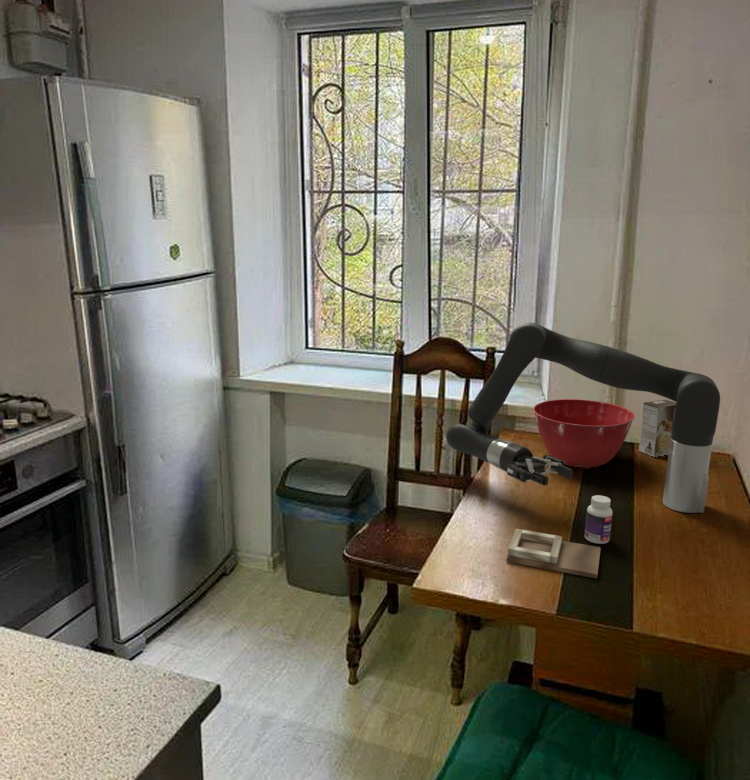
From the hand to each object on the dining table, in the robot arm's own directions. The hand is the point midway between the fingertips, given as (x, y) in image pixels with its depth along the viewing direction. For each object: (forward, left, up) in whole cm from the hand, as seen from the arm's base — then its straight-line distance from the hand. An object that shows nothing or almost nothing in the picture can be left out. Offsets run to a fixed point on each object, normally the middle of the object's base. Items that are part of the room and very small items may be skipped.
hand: (559, 477), depth 155 cm
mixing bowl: (-2, -45, -11) cm, 46 cm away
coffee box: (-24, -61, -11) cm, 66 cm away
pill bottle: (-10, +6, -11) cm, 16 cm away
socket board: (-2, +18, -11) cm, 21 cm away
